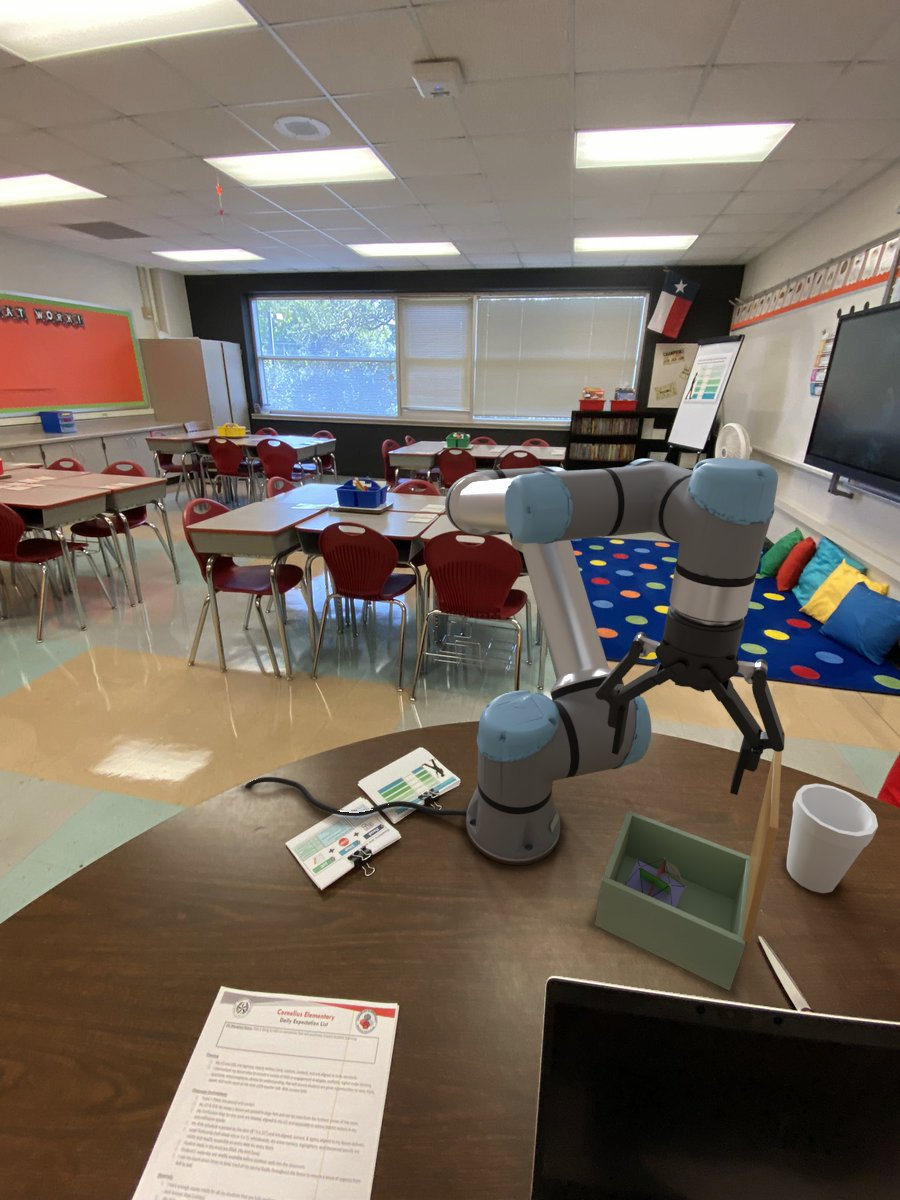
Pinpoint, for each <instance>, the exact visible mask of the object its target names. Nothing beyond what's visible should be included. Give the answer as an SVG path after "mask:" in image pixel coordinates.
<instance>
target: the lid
mask: <svg viewBox="0 0 900 1200" xmlns="http://www.w3.org/2000/svg"><path fill="white" fill-rule="evenodd" d="M782 755H783V751H781V752H776V751H774V750H773V753H772V758H771V762H770V767H769V771H768V776H767V780H766V785H765V789H764V793H763V797H762V802H761V807H760V812H759V817H758V820H757V825H756V830H755V834H754V837H753V838H754V839H753V843H752V846H751V847H752V848H751V852H750V857H751V858H750V869H749V879H748V889H747V899H746V910H745V920H744V930H743V941H746V943H747V944H751V942H752V939H753V935H754V934H753V933H754V930H755V925H756V922H757V917H758V914H759V909H760V907H761V906H760V905H761V901H762V898H763V893H764V889H765V885H766V881H767V877H768V873H769V868H770V865H771V862H772V861H771V860H772V856H773V853H774V848H775V843H776V839H777V835H778V832H779V821H780V819H779V818H780V801H781V800H780V799H781V778H782V775H781V774H782V758H783V757H782Z"/></svg>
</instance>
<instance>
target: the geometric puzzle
mask: <svg viewBox="0 0 900 1200" xmlns="http://www.w3.org/2000/svg"><path fill="white" fill-rule="evenodd" d="M662 860H663V859H662ZM665 860H666V859H665V858H664V861H663V863H662V866H661V868H660V870H659V871H657V870H655V869H654V868H652V867H650V866H648V863H646V864H645V862H644V863H643V861H642V862H641V860H638V859H637V862H636V864H635V866H634V868H633V870H632V872H631V873H630V875H629V877H628V879H627V881H626V883H625V884H624V885H625V886H627V887H630V888H632V889H634V890H636V891H639V892H641V893H643V894H645V895H648V896H650V897H652V898H654V899H657V900H659V901H661V902H663V903H666V904H668V905H670V906H673V907H675V908H676V907H677V905H678V902H679V900H680V898H681V896H682V893H683V891H684V889H685V888H686V886H685V885H684V882H683V880H682V877H681V875H680V872H679V870H678V869H677V868H676V867H675V866H674V865H673V864H671V863H670V862H668V861H667V860H666V861H665ZM659 861H660V860H659ZM656 862H657V861H656ZM653 863H654V862H653ZM665 863H666V866H665ZM650 864H651V863H650ZM650 864H649V865H650ZM651 866H652V865H651ZM653 867H655V866H653ZM656 868H657V867H656ZM658 869H659V868H658ZM665 872H666V873H667V874H668V873H670V874H672V875H674V876H676V877H678V878H679V879H680V880H681V882H682V883H683V884H682V885H681V883H680V882H679V881H678V882H679V883H680V884H679V883H678V882H676V881H674V880H673V879H671V878H669V876H668V877H667V876H666V875H664V874H663V873H665ZM670 874H669V875H670ZM670 876H671V875H670ZM671 877H672V876H671ZM674 879H675V878H674ZM675 880H676V879H675Z"/></svg>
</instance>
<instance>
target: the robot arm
mask: <svg viewBox="0 0 900 1200" xmlns="http://www.w3.org/2000/svg"><path fill="white" fill-rule="evenodd" d="M778 482H779V474H778V472H777V470H776V469H775V467H773V466H772V465H770V464H768V463H766V462H761V461H758V460H753V459H751V460H748V459H743V458H734V457H713V458H706V459H703V460H700V461H698V462H697V463H695V465H694V467H693V469H689V468H686V467H683V466H680V465H675V464H674V463H672V462H669V461H667V460H663V459H652V458H639V459H635V460H633V461H631V462H629V463H628V464H627V465H624V466H621V467H607V468H597V469H580V470H579V469H577V470H566V469H564V468H563V467H559V466H547V465H537V466H535V467H523V468H506V469H487V470H480V471H479V470H478V471H475V472H471V473H469V474H466V475H464V476H463V477H460V478H459V479H457V480H456V481H455V482H454V483H453V484H452V485H451V486H450V488H449V489H448V491H447V493H446V496H445V500H444V501H445V502H444V508H445V509H444V510H445V514H446V516H447V519H448V521H449V522H450V524H451V525H453V527H454V528H456V529H457V530H459V532H462V533H464V534H469V535H473V536H474V535H476V536H500V535H508V536H509V538H510V542H511V546H512V548H513V549H515V550H516V551H519V552H521V553H522V554H523V559H524V563H525V566H526V570H527V574H528V577H529V582H530V585H531V588H532V592H533V596H534V600H535V604H536V607H537V612H538V615H539V618H540V619H539V620H540V623H541V627H542V631H543V635H544V638H545V641H546V645H547V649H548V652H549V657H550V661H551V664H552V668H553V672H554V675H555V683H554V684H553V686H552V688H551V689H550V697H551V698H550V697H549V696H547V695H545V694H543V693H540V692H539V691H535V692H533V693H532V692H531V691H530V690H513V691H509V692H506V693H503V694H500V695H498V696H497V697H495V698H493V699H492V700H491V701H490V702H488V703H487V705H486V706H485V708H484V709H483V710H482V711H481V713H480V717H479V721H478V722H479V723H478V731H477V734H476V745H477V786H476V787H475V790H474V792H473V794H472V797H471V799H470V801H469V803H468V806H467V809H466V810H464V809H440V808H433V807H429V806H426V805H422V804H419V803H416V802H412V801H405V800H397V801H389V802H386V803H381V804H379V805H375V806H372V807H370V808H371V809H373V810H370V811H365V812H359V813H349V812H340V811H337V810H338V809H339V808H336V807H333V806H330V805H327V804H325V803H323V802H320V801H318V800H317V799H316V798H314V797H313V796H312V794H311V793H310V792H309V791H308V790H307V788H306V787H305V786H304V785H303V784H301V783H300V782H298V781H295V780H291V779H288V778H282V777H278V776H277V777H275V776H263V777H258V779H257V778H255V779H256V780H255V779H252V780H253V781H252V780H250V781H251V782H250V781H249V782H247V783H246V784H245V786H244V788H246V789H250V788H251V787H253V786H255V785H257V784H262V783H276V784H284V785H286V786H290V787H294V788H296V789H297V790H299V791H300V792H301V794H303V796H304V797H305V798H306V800H307V801H308V802H309V803H310V804H311V805H313V806H314V807H316V808H318V809H320V810H322V811H324V812H328V813H331V814H334V815H339V816H344V817H345V816H346V817H361V816H367V815H370V814H374V813H378V812H380V811H382V810H383V811H384V810H386V809H390V808H397V807H403V808H410V809H414V810H417V811H421V812H424V813H427V814H432V815H436V816H460V817H465V829H466V834H467V836H468V839H469V841H470V843H471V844H472V845H473V847H474V848H475V849H476V850H477V851H478V852H479V853H481V854H482V855H483V856H485V857H486V858H488V859H489V860H492V861H494V862H497V863H500V864H503V865H509V866H525V865H526V866H527V865H531V864H535V863H538V862H540V861H541V860H544V859H545V858H546V857H548V856H549V855H550V854H551V853H552V852H553V851H554V850H555V848H556V846H557V845H558V842H559V839H560V834H561V820H560V818H561V817H560V814H559V811H558V808H557V804H556V802H555V798H554V796H553V793H552V792H553V782H555V781H559V780H564V779H568V778H574V777H579V776H585V775H589V774H594V773H599V772H603V771H608V770H617V769H621V768H622V767H625V766H629V765H634V764H635V763H638V762H639V761H641V760H642V759H643V758H644V757H645V756H646V754H647V752H648V750H649V747H650V743H651V740H652V720H651V713H650V709H649V707H648V705H647V702H646V700H645V698H644V697H643V696H641V695H643V694H644V693H646V692H648V691H650V690H652V689H653V688H654V687H656V686H661V685H662V684H664V683H666V682H667V681H669V680H670V681H671V682H672V683H674V686H678V687H683V688H690V689H693V690H695V691H696V692H699V693H700V692H702V693H705V691H708V692H709V691H711V693H712V694H713V697H715V699H716V701H717V702H720V703H721V705H722V706H723V707H724V709H725V710H726V712H727V714H728V715H729V717H730V718H731V719H732V721H733V723H734V724H735V725H736V727H737V728H738V730H739V731H740V733H741V735H742V736H743V737H742V742H741V745H740V749H739V753H738V756H737V760H736V763H735V767H734V770H733V774H732V778H731V785H730V791H729V794H732V795H735V796H738V795H739V790H740V787H741V784H742V779H743V776H744V774H745V770H747V771H749V772H753V773H754V772H755V771H757V770H758V766H759V764H760V759H761V756H762V755H763V754H764V750H773V752H774V751H776V752H781V751H782V752H783V751H784V749H785V732H784V728H783V725H782V722H781V719H780V716H779V713H778V710H777V707H776V704H775V702H774V698H773V696H772V691H771V689H770V686H769V684H768V680H767V675H768V667H769V665H768V662H767V660H765V659H762V658H760V659H757V660H756V661H755V662H752V661H744V660H739V656H738V652H739V647H740V644H741V639H742V635H743V632H744V627H745V623H746V621H745V619H744V618H745V617H746V616H747V615H748V611H749V608H750V607H749V606H750V603H751V600H752V595H753V591H754V587H755V583H756V578H757V573H758V568H759V564H760V560H761V556H762V553H763V549H764V545H765V541H766V537H767V534H768V531H769V527H770V524H771V520H772V519H773V516H774V514H775V501H776V497H777V490H778ZM646 533H654V534H658V535H660V536H662V537H664V538H666V539H669V540H670V541H673V542H675V543H678V551H677V552H678V553H677V558H676V561H675V565H674V566H675V567H674V571H673V578H672V584H671V589H670V595H669V600H668V602H669V604H670V605H669V606H668V608H667V611H666V617H665V624H664V629H663V635H662V638H661V640H660V641H657V640H654V639H651V638H648V636H647V634H646V633H645V632H642V631H640V632H637V633H636V635H635V636H634V639H632V642H631V645H630V647H629V651H628V652H627V653H626V654H625V656H623V658H622V659H621V660H620V661H619V662H618V664H617V665H616V666H615V667H614V668H613V669H611V668H610V667H609V665H608V661H607V658H606V655H605V651H604V648H603V645H602V641H601V637H600V634H599V631H598V628H597V625H596V620H595V618H594V615H593V611H592V608H591V604H590V601H589V598H588V597H589V596H588V594H587V591H586V588H585V584H584V581H583V578H582V574H581V571H580V568H579V564H578V562H577V558H576V554H575V552H574V548H573V545H572V542H571V541H574V540H581V539H582V540H583V539H592V538H605V537H617V536H625V535H626V536H627V535H635V534H636V535H637V534H646ZM651 653H654V654H655V656H656V658H657V660H658V663H657V664H656V665H655V666H654V667H652V668H650V669H649V670H648V671H646V672H644V673H642V674H641V675H639V676H637V677H636V678H635V679H633V680H631V681H630V682H628V683H627V684H624V681H623V680H624V679H623V678H624V677H626V675H627V674H628V673H629V672H630V671H631V669H632V668H633V667H634V666H635V665H636V664H637V663H638V660H639V659H640V658H647V657H648V656H649V654H651ZM737 674H741V675H742V676H743V679H744V681H745V682H746V683H747V684H748V685H751V691H752V696H753V697H754V701H755V704H756V707H757V710H758V713H759V716H760V719H761V722H762V725H763V728H764V730H765V731H764V730H763V729H762V727H761V726H760V724H759V723H758V722H757V720H756V718H755V717H754V715H753V714H752V712H751V711H750V709H749V708H748V706H747V705H746V704H745V702H744V700H743V699H742V697H741V695H739V693H738V691H737V690H736V688H735V687H734V683H733V681H732V680H731V678H733V677H734V676H736V675H737ZM388 804H389V805H388ZM340 809H341V810H343V809H342V808H340ZM351 811H357V809H356V810H353V809H352V810H351Z"/></svg>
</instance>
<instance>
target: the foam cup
mask: <svg viewBox="0 0 900 1200" xmlns="http://www.w3.org/2000/svg"><path fill="white" fill-rule="evenodd" d="M878 827H879V824H878V819H877V815H876V814H875V813H874V811H873V810H872V809H871V808H870V807H869V806H868V805H867V803H866V802H864V801H863V800H862V799H859V798H858V797H857V796H856V795H853V794H852V793H851V792H848V791H846V790H844V789H841V788H838V787H836V786H833V785H829V784H822V783H817V782H816V783H810V784H803V785H802V786H801V787H800V788H799V789H798V790H797V791H796V792H795V795H794V799H793V801H792V818H791V825H790V833H789V840H788V847H787V855H786V870H787V872H788V874H789V875H790V878H792V879H793V880H794V881H795V882H796V883H798V884H799V885H800V886H801V887H803V888H805V889H807V890H809V891H811V892H816V893H819V894H828V893H832V892H833V891H834V890H835V888H836V887H838V885H839V883H840V882H841V881H842V880H843V878H844V876H845V875H846V874H847V872H848V871H849V869H850V868H851V867H852V865H853V864H854V862H855V861H856V860H857V858H858V857H859V855H860V854H861V852H862V851H863V850H864V848H867V847H868V845H869V844H870V843H871V841H873V839H874V837H875V835H876V832H877V830H878Z"/></svg>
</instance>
